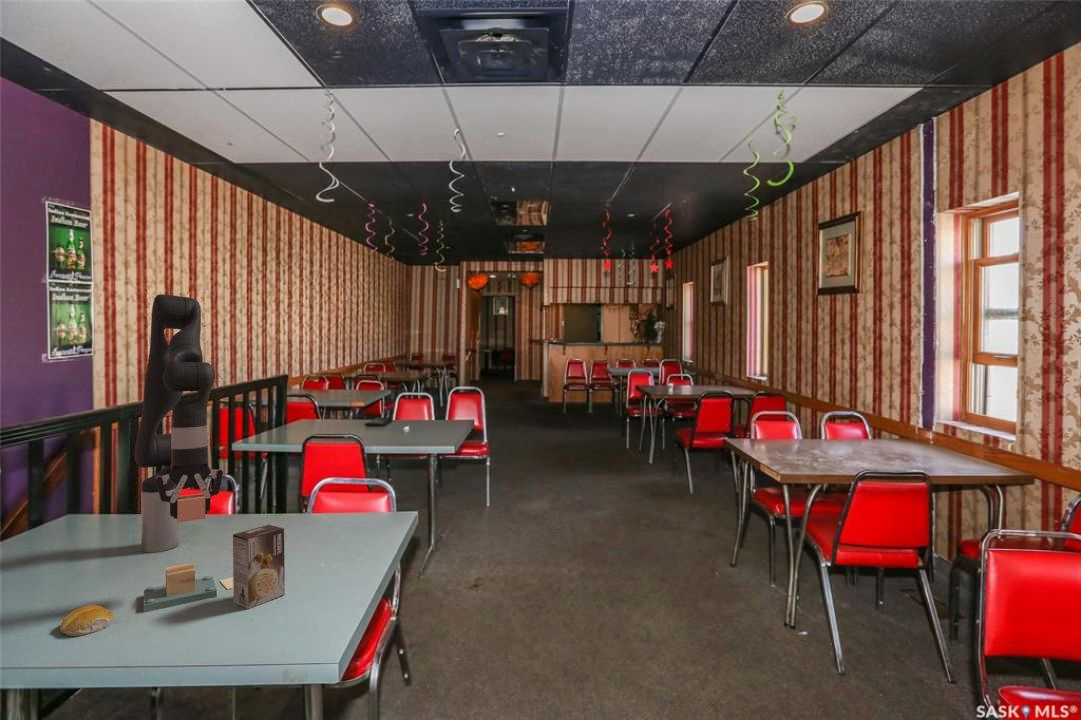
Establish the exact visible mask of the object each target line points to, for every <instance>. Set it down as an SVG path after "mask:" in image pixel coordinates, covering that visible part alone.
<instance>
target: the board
mask: <svg viewBox="0 0 1081 720" xmlns="http://www.w3.org/2000/svg"><path fill="white" fill-rule="evenodd" d="M217 592H218V591H217V587H216V584H215V580H214V576H211V575H207V576H204V577H202V578H197V579H196V578H195V591H194V592H189V593H184V594H179V595H174V596H169V597H167V595H166V584H165V585H160V586H157V587H156V586H155V587H154V586H150V587H146V588H145V589H143V613H146V612H151V611H155V610H156V611H157V610H160V609H164V608H169V607H174V606H179V605H184V604H189V603H193V601H194V602H197V601H203V600H207V599H211V598H216V597H217V596H218V595H217Z"/></svg>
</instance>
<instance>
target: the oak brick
mask: <svg viewBox="0 0 1081 720" xmlns="http://www.w3.org/2000/svg"><path fill="white" fill-rule="evenodd" d="M195 580H196V568H195V564H194V562H189V563H185V564H178V565H174V566H173V565H171V566H167V567H165V585H166V595H167V597H169V596H174V595H179V594H184V593H189V592H194V591H195Z"/></svg>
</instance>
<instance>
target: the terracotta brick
mask: <svg viewBox="0 0 1081 720" xmlns="http://www.w3.org/2000/svg"><path fill="white" fill-rule="evenodd" d="M176 501H177V518H176V519H177V522H178V523H179V524H180V523H184V522H185V523H186V522H190V521H191V522H193V521H197V520H205V519H206V514H205V496H204V495H203V493H202V492H201V493H194V494H188V495H179V496H178V498H177V500H176Z"/></svg>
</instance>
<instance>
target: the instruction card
mask: <svg viewBox="0 0 1081 720" xmlns="http://www.w3.org/2000/svg"><path fill="white" fill-rule="evenodd" d="M219 583H221V585H222V586H223V587H224V588H225V589H226V590H227V591H229V590H233V589H232V588H233V576H232V577H231V576H230V577H228V578H223V579H219Z"/></svg>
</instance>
